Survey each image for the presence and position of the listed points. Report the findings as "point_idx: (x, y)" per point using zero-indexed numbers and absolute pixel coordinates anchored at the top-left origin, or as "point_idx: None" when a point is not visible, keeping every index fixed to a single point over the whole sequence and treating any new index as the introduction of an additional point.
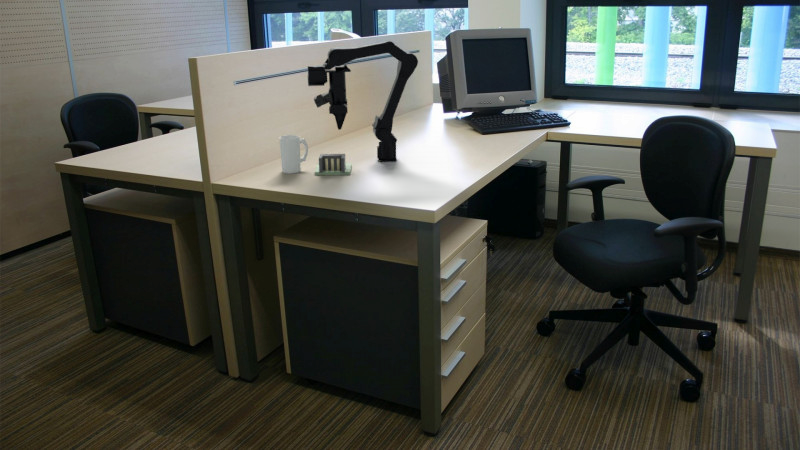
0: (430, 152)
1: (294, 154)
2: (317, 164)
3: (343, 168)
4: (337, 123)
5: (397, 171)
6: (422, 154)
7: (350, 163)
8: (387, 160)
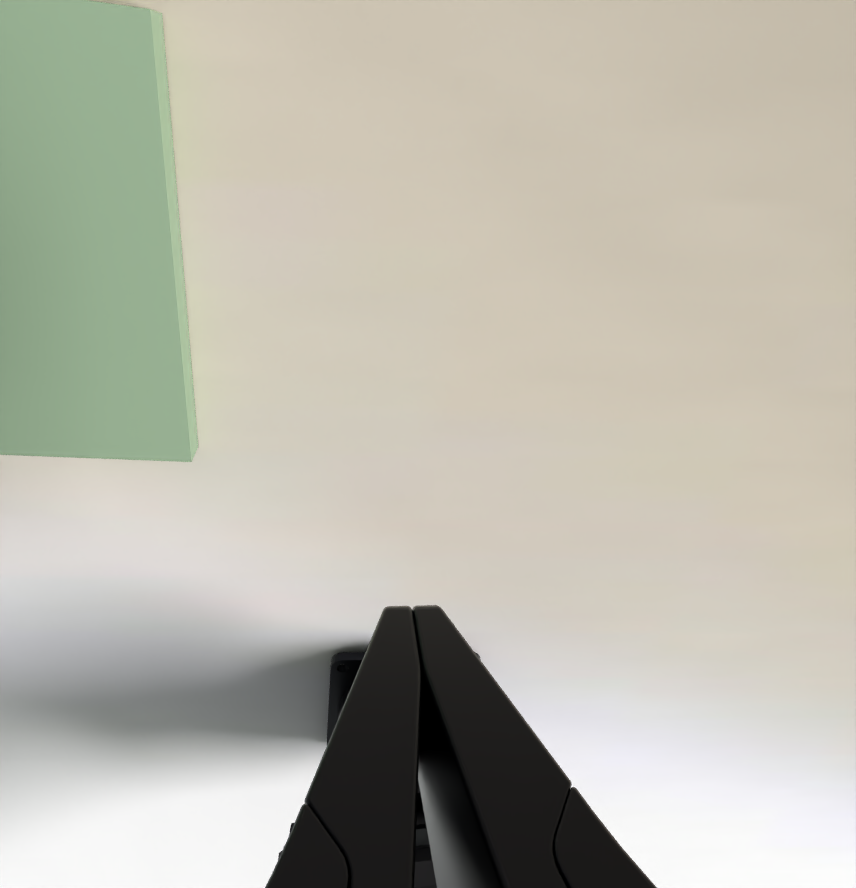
0: None
1: None
2: (55, 6)
3: None
4: (330, 744)
5: (23, 748)
6: None
7: (155, 453)
8: (329, 706)
